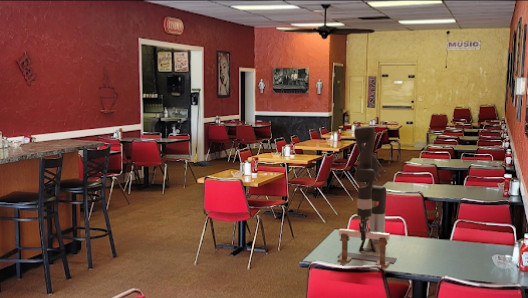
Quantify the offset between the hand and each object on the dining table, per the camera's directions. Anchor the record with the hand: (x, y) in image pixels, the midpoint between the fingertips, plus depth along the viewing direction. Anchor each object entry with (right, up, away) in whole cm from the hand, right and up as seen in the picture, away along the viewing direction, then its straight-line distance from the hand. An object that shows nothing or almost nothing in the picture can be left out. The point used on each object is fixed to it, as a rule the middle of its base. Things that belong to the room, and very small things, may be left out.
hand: (363, 239), depth 297 cm
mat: (+3, -12, +10) cm, 15 cm away
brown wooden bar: (0, +1, 0) cm, 1 cm away
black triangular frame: (+6, -10, +25) cm, 27 cm away
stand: (0, -13, +1) cm, 13 cm away
